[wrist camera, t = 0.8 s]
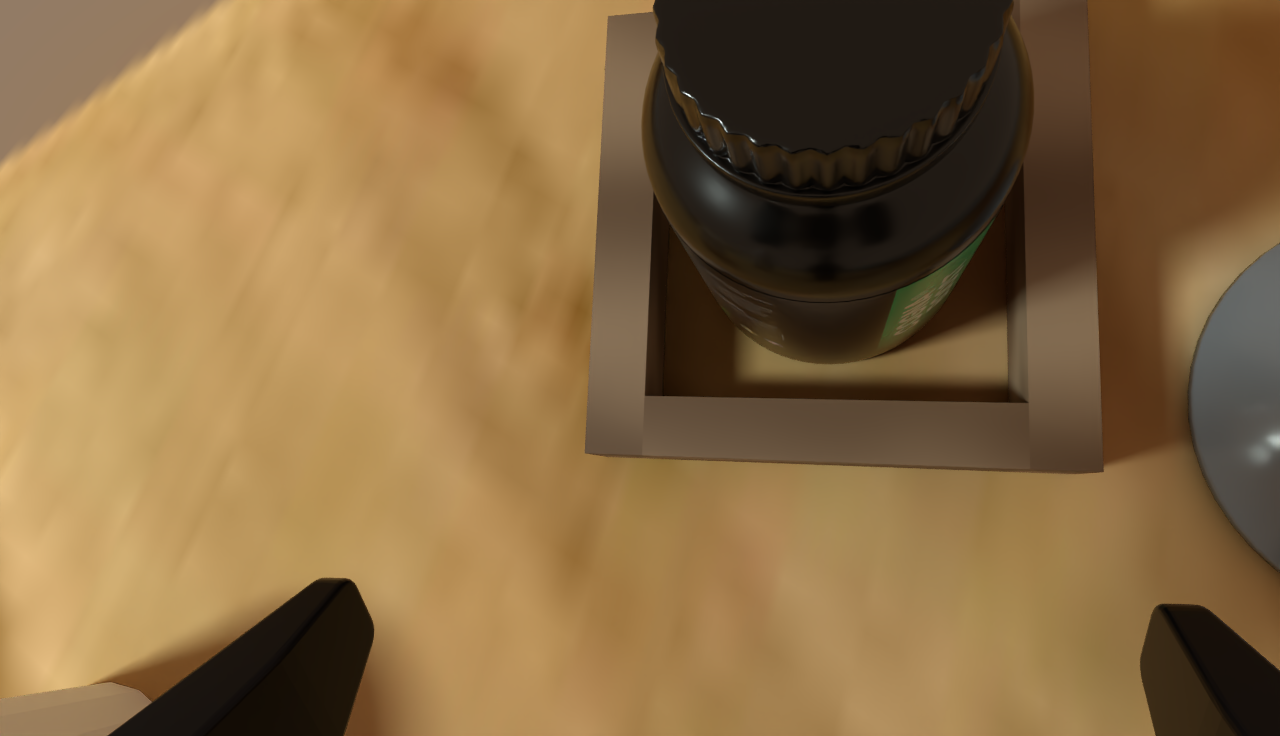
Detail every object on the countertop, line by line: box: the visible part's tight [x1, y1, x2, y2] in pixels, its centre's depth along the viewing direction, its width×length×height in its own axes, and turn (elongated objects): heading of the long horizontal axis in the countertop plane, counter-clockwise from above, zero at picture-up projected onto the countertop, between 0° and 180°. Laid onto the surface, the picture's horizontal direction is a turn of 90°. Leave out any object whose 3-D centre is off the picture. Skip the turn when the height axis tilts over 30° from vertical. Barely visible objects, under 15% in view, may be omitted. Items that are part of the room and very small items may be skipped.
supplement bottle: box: [641, 0, 1034, 364], centre depth 17 cm, size 7×7×12 cm
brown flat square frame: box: [585, 0, 1104, 474], centre depth 21 cm, size 12×12×2 cm
